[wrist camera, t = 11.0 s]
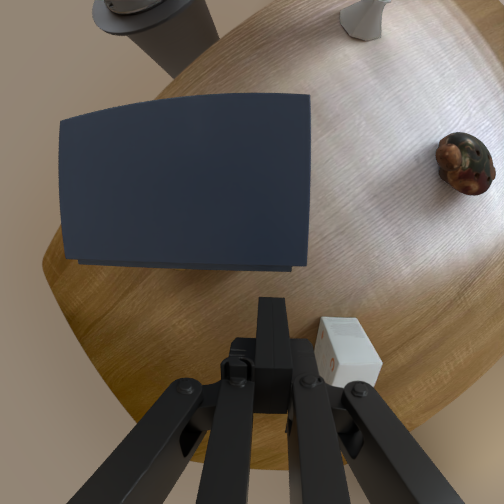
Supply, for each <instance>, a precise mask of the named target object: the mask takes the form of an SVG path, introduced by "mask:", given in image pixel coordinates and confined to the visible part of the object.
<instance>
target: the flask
mask: <svg viewBox="0 0 504 504" xmlns="http://www.w3.org/2000/svg"><path fill="white" fill-rule="evenodd" d="M390 2H391V0H361V1H359V2H357V3H355V4H353V5H351V6H349V7H347V8H344V9H342V10H341V11H340V23H341V25H342V26H343V27H344V29H345V30H346V31H347V32H348V34H349V35H350V36H352V37H355V38H359V39H363V40H366V41H369V40H373V39H376V38H380V37H381V23H382V12H383V9H384V6H385V5H386V3H390Z"/></svg>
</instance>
